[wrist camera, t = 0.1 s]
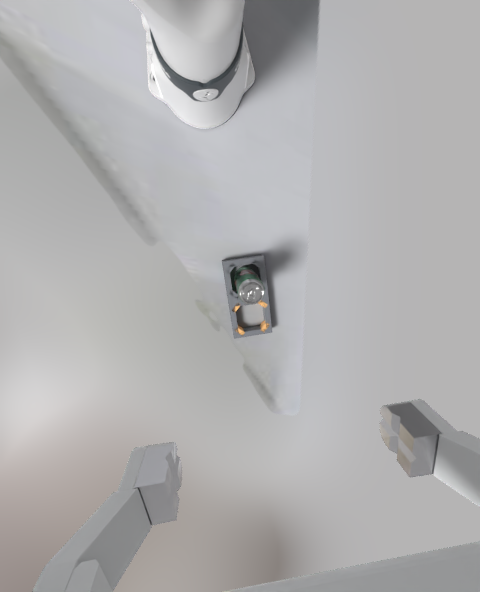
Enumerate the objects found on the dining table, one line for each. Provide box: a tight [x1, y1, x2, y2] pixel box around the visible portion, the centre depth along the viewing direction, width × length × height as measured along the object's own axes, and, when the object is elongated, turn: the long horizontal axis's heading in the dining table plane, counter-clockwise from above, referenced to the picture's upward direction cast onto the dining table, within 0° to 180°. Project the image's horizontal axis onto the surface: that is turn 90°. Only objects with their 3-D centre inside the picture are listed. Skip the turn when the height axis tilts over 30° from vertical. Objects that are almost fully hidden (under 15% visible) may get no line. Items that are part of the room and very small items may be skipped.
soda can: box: [234, 267, 265, 304], centre depth 52 cm, size 5×5×12 cm
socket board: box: [222, 255, 272, 338], centre depth 58 cm, size 18×9×2 cm, turn 8°
